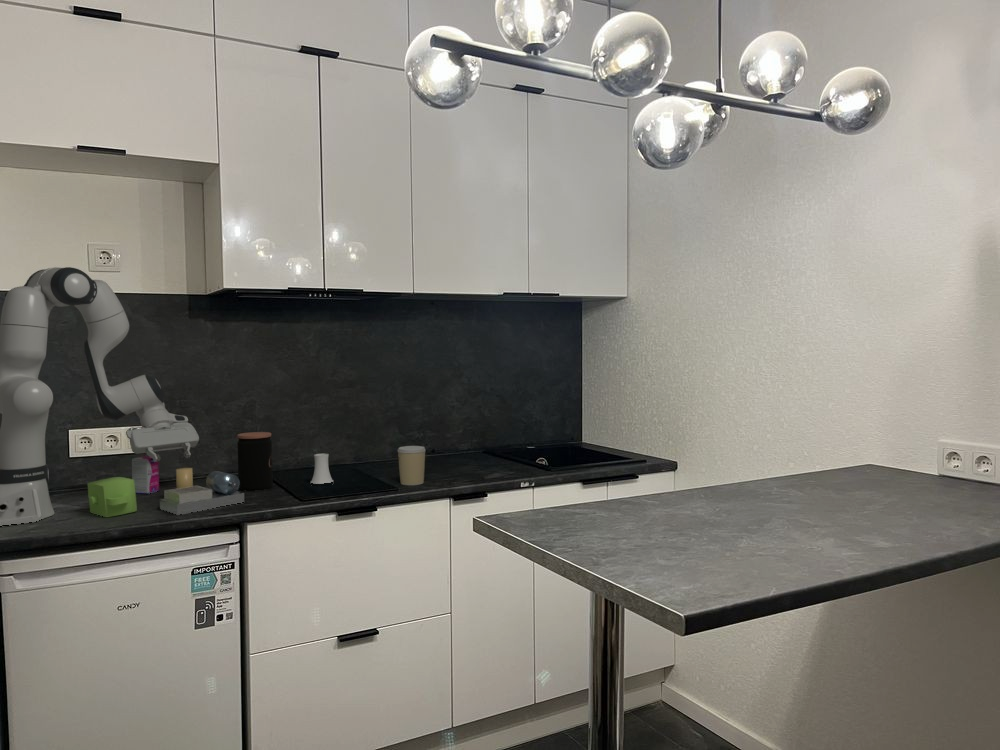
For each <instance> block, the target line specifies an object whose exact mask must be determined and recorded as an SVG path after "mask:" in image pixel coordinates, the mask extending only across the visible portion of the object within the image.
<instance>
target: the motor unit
mask: <svg viewBox="0 0 1000 750" xmlns="http://www.w3.org/2000/svg"><path fill="white" fill-rule="evenodd" d="M205 485H206V486H204V487H203V486H200V485H193V486H189V487H183V488H177V487H176V488H172V489H170V488H169V489H165V490H164V491H163V492H164V495H163V496H164V497H163V498H159V510H160V509H161V510H160V511H163V510H164V511H163V512H166V511H167V512H166V513H169V512H170V514H172V513H173V514H172V515H175V514H176V515H175V516H180V514H182V515H186V514H192V513H191V512H193V513H197V511H198V512H202V510H203V511H207V509H209V510H213V509H212V508H214V509H217V508H216V507H220V506H225V507H227V506H226V505H230V506H232V505H231V504H236V505H238V504H237V503H241V504H243V503H242V502H244V503H245V492H242V491H238V490H239V489H240V488H239V486H240V481H239V478H238V476H237V474H233V473H228V472H223V471H219V470H214V471H212V472H210V473H208V475H207V477H206V479H205ZM220 508H221V507H220Z"/></svg>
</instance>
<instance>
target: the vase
mask: <svg viewBox="0 0 1000 750" xmlns="http://www.w3.org/2000/svg"><path fill="white" fill-rule="evenodd" d="M329 455H330V454H329V453H316V454H315V453H314V454H313V459H314V471H313V475H312V478H311V480H310V484H311V483H313V484H324V483H331V482H333V483H334V479H333V478H332V476H331V473H330V469H329Z"/></svg>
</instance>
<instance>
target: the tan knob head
mask: <svg viewBox="0 0 1000 750" xmlns="http://www.w3.org/2000/svg"><path fill="white" fill-rule="evenodd" d="M193 470H194V469H193V467H180V468H176V469H175V479H176V481H175V483H176V484H175V485H176V489H177V488H183V487H189V486H194V479H193V478H194V477H193V475H194V473H193Z"/></svg>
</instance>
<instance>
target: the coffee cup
mask: <svg viewBox="0 0 1000 750" xmlns="http://www.w3.org/2000/svg"><path fill="white" fill-rule="evenodd" d="M397 455H398V456H397V458H398V468H399V471H398V472H399V481H400V484H401V485H403V486H417V485H423V484H424V483H425V467H426V466H425V465H426V464H425V463H426V448H425V446H421V445H406V446H400V447H398V448H397Z"/></svg>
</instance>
